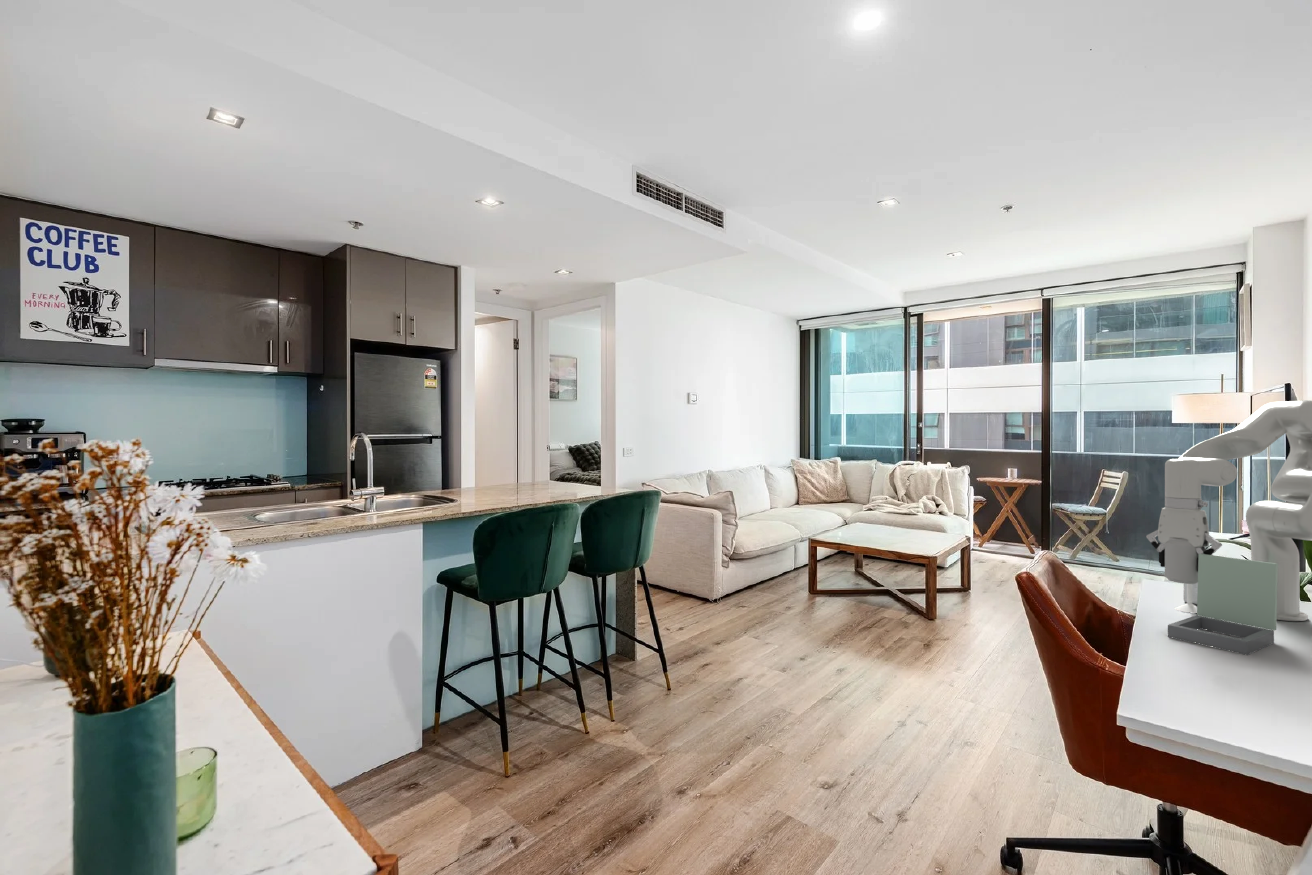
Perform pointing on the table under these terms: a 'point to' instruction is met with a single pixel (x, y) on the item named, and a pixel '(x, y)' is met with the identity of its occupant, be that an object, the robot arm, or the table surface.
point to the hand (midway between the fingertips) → (1182, 568)
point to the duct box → (1248, 644)
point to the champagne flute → (1188, 602)
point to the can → (1181, 561)
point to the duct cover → (1237, 590)
